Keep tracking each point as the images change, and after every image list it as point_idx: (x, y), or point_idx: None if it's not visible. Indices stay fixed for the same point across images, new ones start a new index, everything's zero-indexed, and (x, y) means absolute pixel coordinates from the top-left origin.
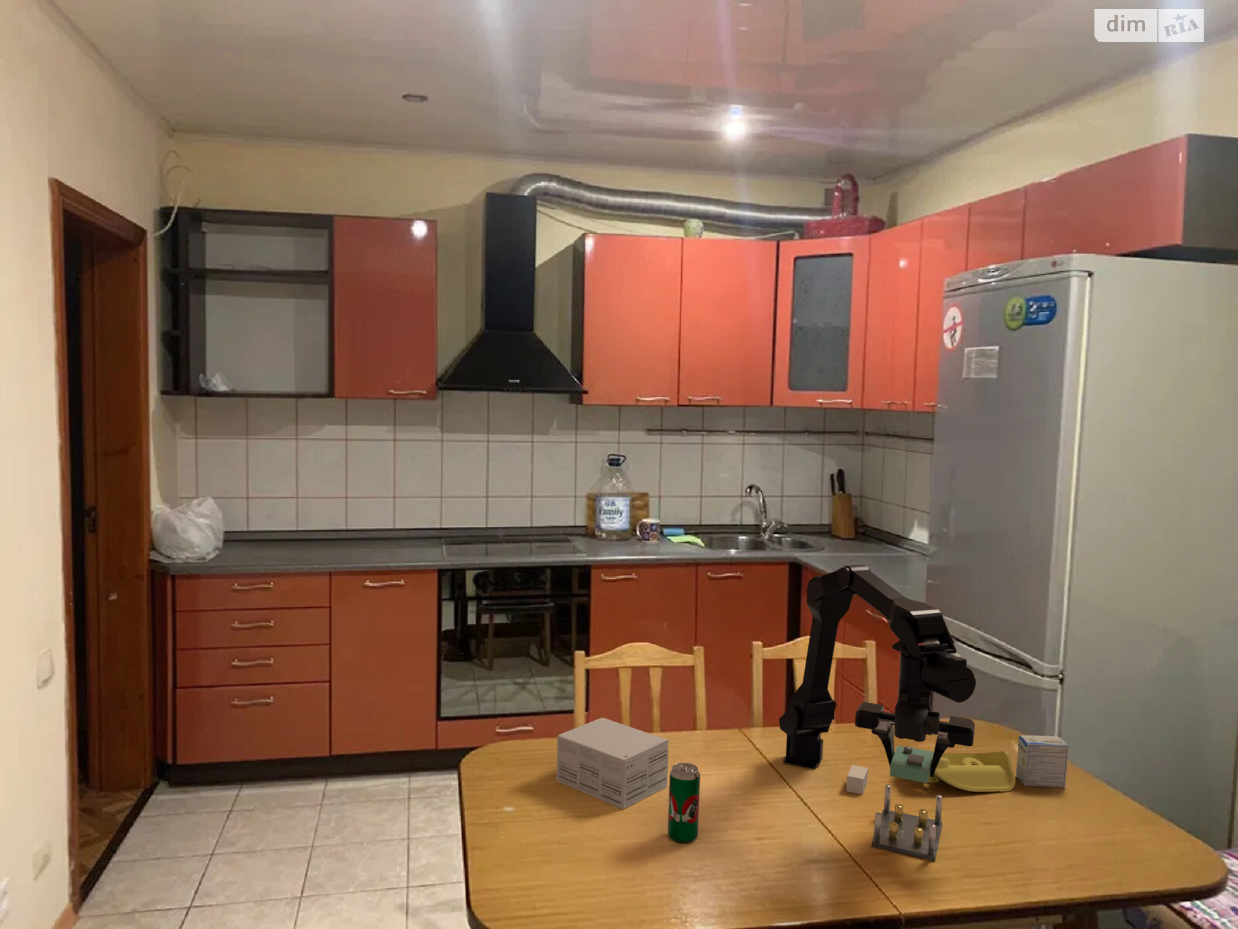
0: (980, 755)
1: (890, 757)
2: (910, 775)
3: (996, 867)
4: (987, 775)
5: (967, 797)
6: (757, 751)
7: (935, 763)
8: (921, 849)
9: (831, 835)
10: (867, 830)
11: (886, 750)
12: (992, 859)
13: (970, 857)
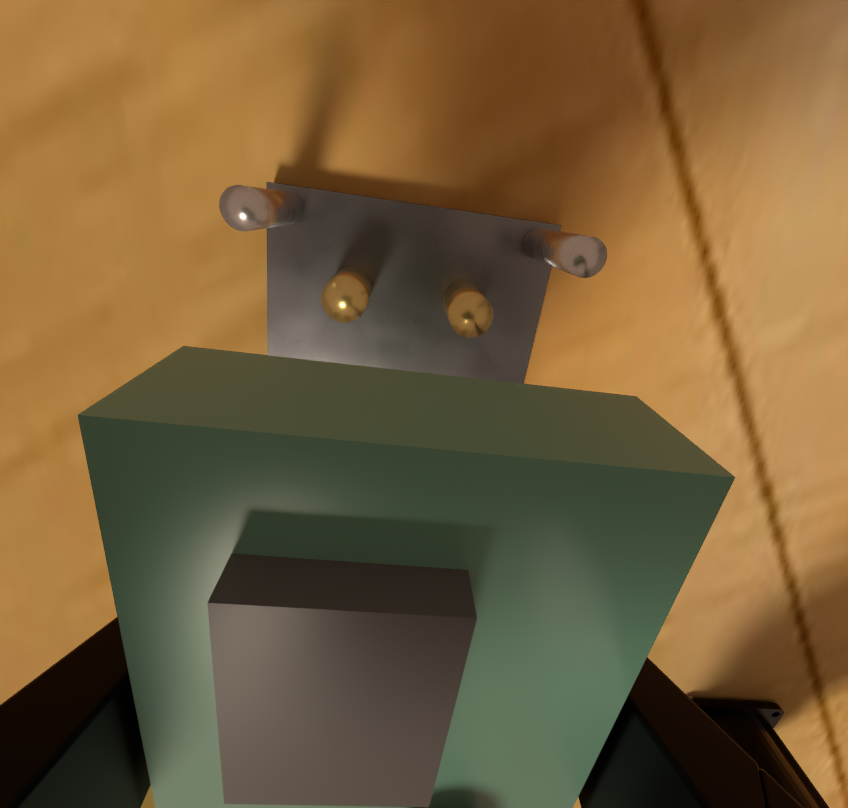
0: None
1: (646, 692)
2: (402, 395)
3: (8, 228)
4: (147, 800)
5: None
6: (838, 738)
7: (50, 699)
8: (334, 232)
9: (717, 270)
10: (556, 368)
11: (763, 788)
12: (43, 298)
13: (132, 283)
